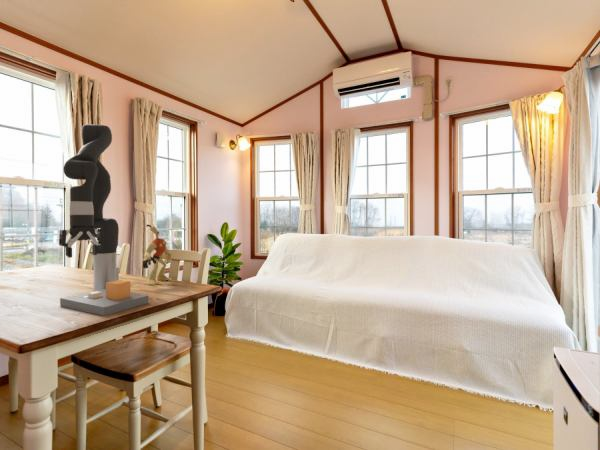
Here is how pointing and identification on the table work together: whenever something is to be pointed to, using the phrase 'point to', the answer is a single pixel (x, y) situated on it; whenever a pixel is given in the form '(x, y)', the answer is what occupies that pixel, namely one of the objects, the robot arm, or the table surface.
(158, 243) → the toy
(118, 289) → the orange cube
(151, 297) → the table surface
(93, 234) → the robot arm
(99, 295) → the button
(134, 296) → the panel
